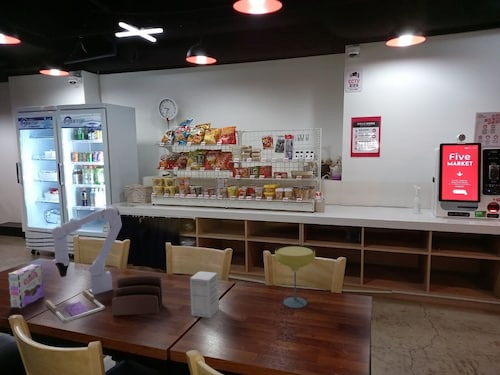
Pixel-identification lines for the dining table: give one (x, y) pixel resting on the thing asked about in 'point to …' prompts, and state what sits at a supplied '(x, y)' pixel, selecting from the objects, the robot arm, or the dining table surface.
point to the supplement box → (204, 294)
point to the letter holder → (137, 296)
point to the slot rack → (56, 307)
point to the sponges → (76, 308)
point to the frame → (82, 313)
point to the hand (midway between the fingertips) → (63, 276)
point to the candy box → (25, 285)
